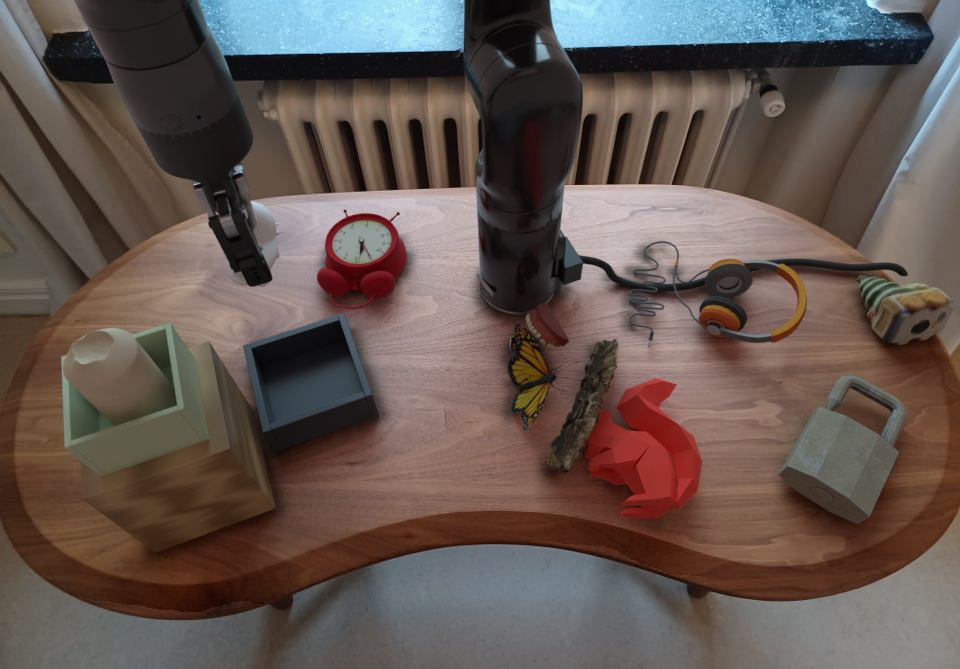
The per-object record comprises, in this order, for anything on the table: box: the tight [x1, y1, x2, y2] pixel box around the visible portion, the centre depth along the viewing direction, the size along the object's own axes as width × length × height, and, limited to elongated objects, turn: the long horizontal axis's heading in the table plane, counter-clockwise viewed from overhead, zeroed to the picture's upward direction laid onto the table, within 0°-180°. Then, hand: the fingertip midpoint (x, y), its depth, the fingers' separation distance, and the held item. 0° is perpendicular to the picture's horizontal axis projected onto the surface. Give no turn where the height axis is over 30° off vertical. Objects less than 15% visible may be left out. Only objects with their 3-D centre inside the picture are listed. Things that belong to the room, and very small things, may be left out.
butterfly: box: [507, 322, 581, 432], centre depth 72 cm, size 12×9×5 cm
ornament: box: [856, 274, 955, 346], centre depth 78 cm, size 8×6×10 cm
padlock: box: [777, 375, 908, 525], centre depth 69 cm, size 4×8×15 cm
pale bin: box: [60, 322, 209, 477], centre depth 57 cm, size 9×9×6 cm
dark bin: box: [242, 312, 380, 453], centre depth 74 cm, size 12×12×5 cm
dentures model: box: [508, 303, 570, 370], centre depth 75 cm, size 6×4×8 cm
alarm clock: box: [316, 209, 408, 310], centre depth 84 cm, size 10×6×15 cm
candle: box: [63, 327, 177, 426], centre depth 55 cm, size 6×6×10 cm
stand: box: [80, 340, 277, 553], centre depth 65 cm, size 12×12×14 cm
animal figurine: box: [584, 377, 703, 520], centre depth 69 cm, size 12×15×5 cm
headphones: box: [628, 240, 808, 348], centre depth 79 cm, size 17×5×20 cm
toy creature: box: [225, 200, 283, 288], centre depth 61 cm, size 5×8×6 cm, turn 172°
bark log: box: [542, 338, 620, 474], centre depth 71 cm, size 18×5×7 cm, turn 157°
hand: (253, 250), depth 62 cm, fingers closed on toy creature, 7 cm apart
